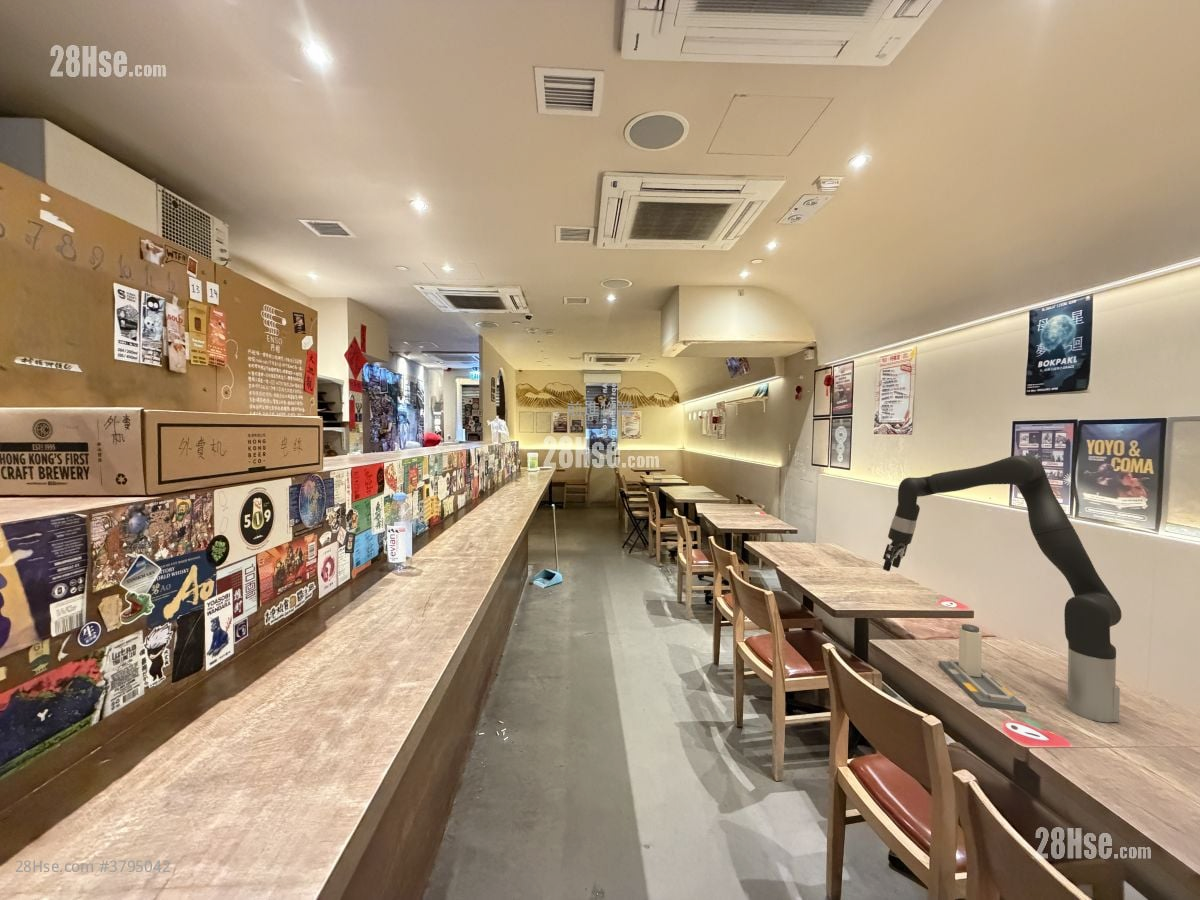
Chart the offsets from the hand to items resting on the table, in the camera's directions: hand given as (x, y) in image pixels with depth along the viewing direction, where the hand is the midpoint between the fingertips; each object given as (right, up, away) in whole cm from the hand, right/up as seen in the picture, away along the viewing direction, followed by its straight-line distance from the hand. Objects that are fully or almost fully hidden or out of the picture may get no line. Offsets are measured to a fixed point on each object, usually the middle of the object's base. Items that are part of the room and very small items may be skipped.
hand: (890, 568), depth 179 cm
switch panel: (+6, -28, -34) cm, 44 cm away
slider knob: (+7, -26, -29) cm, 40 cm away
